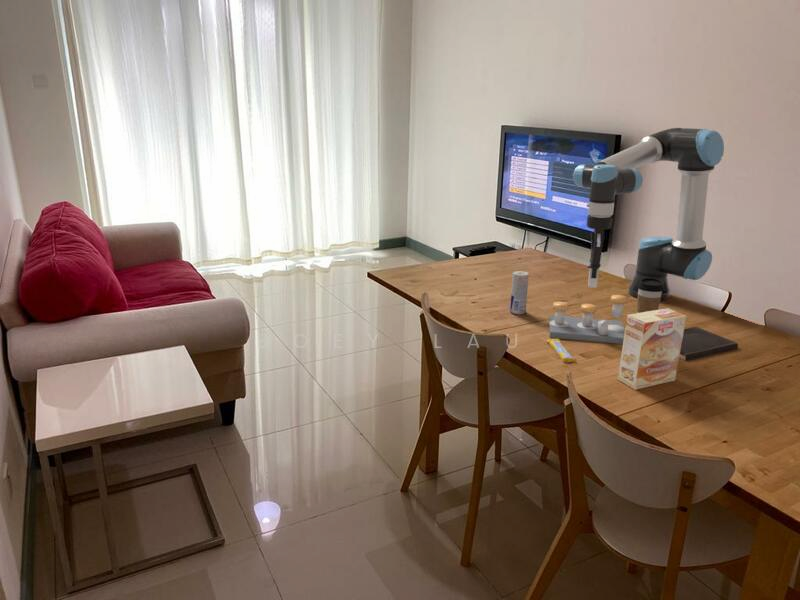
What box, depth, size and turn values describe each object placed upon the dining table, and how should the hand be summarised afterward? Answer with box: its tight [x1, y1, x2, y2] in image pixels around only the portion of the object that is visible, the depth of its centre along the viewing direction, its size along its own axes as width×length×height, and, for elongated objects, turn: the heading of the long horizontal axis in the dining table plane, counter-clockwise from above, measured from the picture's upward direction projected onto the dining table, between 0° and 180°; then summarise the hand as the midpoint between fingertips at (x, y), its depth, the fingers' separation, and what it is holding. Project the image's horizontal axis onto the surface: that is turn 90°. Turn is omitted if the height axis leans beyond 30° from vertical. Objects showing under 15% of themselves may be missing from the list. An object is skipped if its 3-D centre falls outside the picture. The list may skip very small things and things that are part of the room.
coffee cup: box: [636, 278, 664, 313], centre depth 213 cm, size 8×8×15 cm
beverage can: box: [509, 270, 529, 315], centre depth 221 cm, size 6×6×15 cm
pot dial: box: [598, 319, 608, 336], centre depth 198 cm, size 3×3×4 cm
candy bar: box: [546, 338, 577, 364], centre depth 189 cm, size 17×4×2 cm, turn 5°
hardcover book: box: [679, 326, 739, 362], centre depth 195 cm, size 16×23×2 cm
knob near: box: [610, 294, 628, 319], centre depth 201 cm, size 5×5×7 cm
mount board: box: [548, 314, 625, 345], centre depth 205 cm, size 24×16×2 cm, turn 78°
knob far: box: [552, 301, 570, 324], centre depth 205 cm, size 5×5×7 cm
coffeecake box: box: [617, 307, 687, 391], centre depth 168 cm, size 15×7×20 cm, turn 114°
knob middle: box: [580, 303, 598, 327], centre depth 204 cm, size 5×5×7 cm
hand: (592, 286), depth 201 cm, fingers closed
